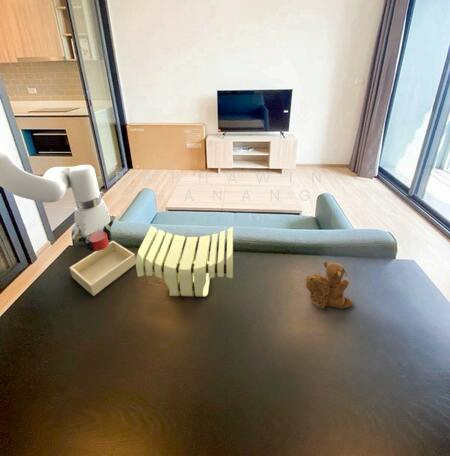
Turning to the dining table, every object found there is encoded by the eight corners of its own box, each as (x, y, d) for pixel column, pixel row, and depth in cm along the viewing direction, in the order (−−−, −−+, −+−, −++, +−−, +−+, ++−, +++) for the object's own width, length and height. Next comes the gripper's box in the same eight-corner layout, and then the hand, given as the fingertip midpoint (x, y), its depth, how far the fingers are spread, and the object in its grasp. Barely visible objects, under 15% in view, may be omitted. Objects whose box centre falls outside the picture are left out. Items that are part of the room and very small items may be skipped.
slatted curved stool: (142, 300, 81) (134, 258, 74) (156, 263, 96) (151, 225, 89) (232, 302, 80) (232, 259, 73) (232, 264, 94) (232, 226, 88)
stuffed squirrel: (354, 305, 78) (362, 273, 74) (318, 320, 74) (324, 287, 69) (332, 280, 87) (337, 251, 82) (298, 293, 82) (302, 262, 78)
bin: (72, 277, 90) (69, 267, 88) (114, 249, 104) (112, 240, 102) (93, 296, 83) (90, 286, 81) (136, 263, 96) (134, 254, 94)
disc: (87, 247, 88) (84, 238, 87) (102, 237, 93) (100, 229, 91) (96, 253, 85) (94, 244, 84) (112, 243, 90) (110, 234, 88)
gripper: (106, 188, 91) (114, 228, 97) (55, 209, 78) (69, 254, 84) (118, 193, 87) (126, 234, 93) (67, 217, 74) (80, 263, 80)
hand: (99, 243), depth 89 cm, fingers closed on disc, 6 cm apart
